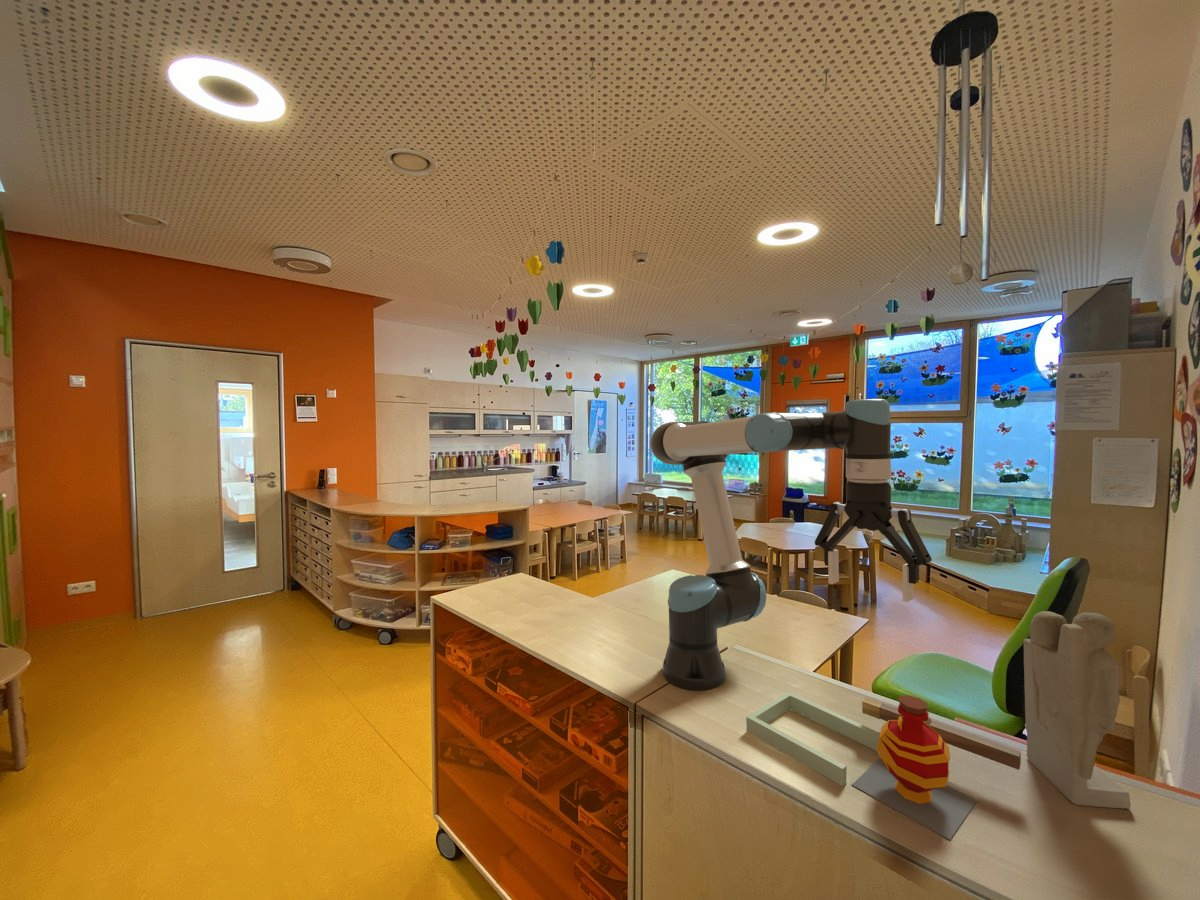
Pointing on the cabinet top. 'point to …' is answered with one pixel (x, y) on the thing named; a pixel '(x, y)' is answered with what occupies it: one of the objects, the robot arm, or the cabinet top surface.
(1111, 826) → the cabinet top surface
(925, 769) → the potion bottle
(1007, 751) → the turn bar
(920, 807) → the mat
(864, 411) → the robot arm
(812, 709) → the channel
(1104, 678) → the sculpture
